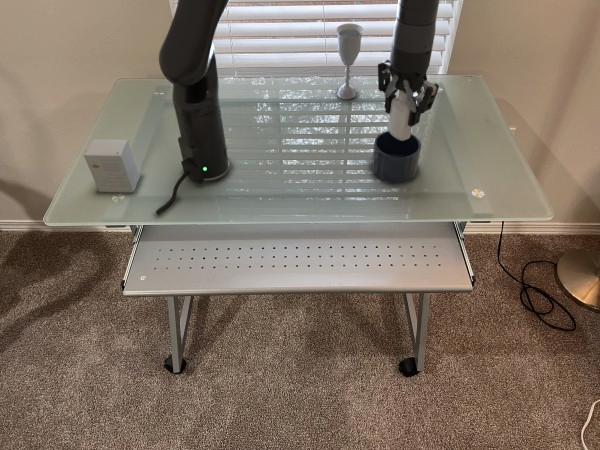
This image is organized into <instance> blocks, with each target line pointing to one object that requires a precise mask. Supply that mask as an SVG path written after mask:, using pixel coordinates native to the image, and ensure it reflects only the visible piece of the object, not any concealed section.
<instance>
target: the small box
mask: <svg viewBox="0 0 600 450" xmlns="http://www.w3.org/2000/svg"><path fill="white" fill-rule="evenodd" d="M129 142H130V141H129V139H92V140H91V141H90V144H89V145H88V147H87V149H86V151H84V152H85V153H83V157H84V159H85V161H86V164H87V166H88V169H89V171H90V174H91V176H92V178H93V181H94V183H95V185H96V188H97V190H98V192H99V193H135V191H136V187H137V186H138V183H139V180H140V178H141V175H140V172H139V171H140V170H139V168H138V165H137V162H136V160H135V157H134V154H133V151H132V148H131V146H130V143H129Z"/></svg>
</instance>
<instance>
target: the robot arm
mask: <svg viewBox="0 0 600 450" xmlns="http://www.w3.org/2000/svg"><path fill="white" fill-rule="evenodd" d="M397 1H398V2H397V9H396V18H395V22H394V25H393V31H392V40H391V49H390V55H389V56H390V57H389V59H385V60H384V61H382V62H380V63H377V87H378V91H379V92H383V93H384V94H383V95H384V97H385V99H384V106H383V107H384V110H385V111H384V112H385V114H388V115H390V108H391V102H392V99H393V98H395V97H397V93H398V92H399V90H402V91H403V92H404V93H406V94H407V99H408V101H409V102H410V105H411V111H410V116H409V122H408V125H409V126H410V127H412V128H413V127H414V126H416V125H417V124H420V121H421V116H422V114H424V113H425V112H427V111H429V110H431V109H432V107H433V105H434V102H435V99H436V96H437V94H438V92H439V89H440V86H439V84H438V83H432V82H430V81H429V80H428V76H427V71H428V69H429V67H430V64H431V58H432V53H433V52H432V51H433V47H434V43H435V42H434V40H435V36H436V25H437V17H438V12H439V11H438V10H439V6H440V0H397ZM229 3H230V0H177V5H176V9H175V12H174V15H173V18H172V21H171V23H170V26H169V29H168V31H167V33H166V35H165V38H164V40H163V42H162V43H161V46H160V48H159V51H158V65H159V69H160V70H161V72H162V74H163V76H164V78H165V79H166V80H167V81H168V82H170V83H171V84H172V94H171V95H172V104H173V107H174V111H175V117H176V120H177V124H178V129H179V134H180V136H178V138H177V141H178V145H179V149H180V154H181V157H182V160H181V166H182V171H183V173H182V174H181V175H180V177H179V179H178V180H177V181H176V183H175V185H174V187H173V190H172V194H171V197H170V198H169V200H168V201H167V202H166V203H165V204H163V205H162V206H161V207H159V208H158V209H156V210H155V213H156V214H157V215H160V214H161V213H162V212H163V211H165V210H167V209H168V208H169V207H170V206H171V205H172V204H173V203H174V202H175V200H176V197H177V195H178V190H179V188H180V186H181V185H182V183H183V181H184V180H185V179H186V178H187V177H188V178H189V179H190V180H191V181H192V182H196V183H197V184H199V185H201V184H203V183H211V182H216V181H219V180H221V179H223V178H224V177H226V176H227V174H228V173H229V171H230V161H229V157H228V148H227V143H226V137H225V131H224V123H223V118H222V110H221V103H220V97H219V96H220V95H219V87H220V86H219V85H220V83H219V82H220V81H219V74H218V73H219V72H218V65H217V57H216V49H215V45H214V42H213V41H214V39H215V38H214V37H215V34H216V31H217V29H218V25H219V23H220V21H221V18H222V16H223V14H224V13H225V11H226V9H227V7H228V4H229Z"/></svg>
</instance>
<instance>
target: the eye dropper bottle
mask: <svg viewBox="0 0 600 450" xmlns="http://www.w3.org/2000/svg"><path fill="white" fill-rule="evenodd" d="M410 111H411V105H410V102H409V101H408V99H407V94H406V93H404V92H403V91H402V90H398V96H396V97H395V98H393V99H392V102H391V108H390V113H389V114H388V115H389V116H388V123H387V124H388V125H387V131H389V132H390V134H391V135H392V136H393V137H395V138H396V139H398V140H401V141H403V140H406V139H409V138H410V135H411V134H412V129H413V126H412V127H410V126H409V125H408V122H409V116H410Z"/></svg>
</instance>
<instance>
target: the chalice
mask: <svg viewBox="0 0 600 450" xmlns="http://www.w3.org/2000/svg"><path fill="white" fill-rule="evenodd" d="M335 32H336V34H337V52H338V54H339V55H338V56H339V58H340V60H341V63H342V65H344V66H345V70H344V73H345V76H343V79H344V81H345V82H344V83H343V84H342V85H340V87H339V89H338V91H337V93H336V95H337V96H338V98H340V99H342V100H351V99H353V98H355V97H356V94H357V93H356V92H355V88H354V86H353V85H352V84H350V80H351V76H350V73H351V68H350V66H353V65H354V63H355V61H356V60H357V58H358V56H359V53H360V51H361V45H362V34H363V33H364V27H362V26H361V25H360V24H357V23H343V24H340V25H338V26H337V27H336V29H335Z"/></svg>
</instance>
